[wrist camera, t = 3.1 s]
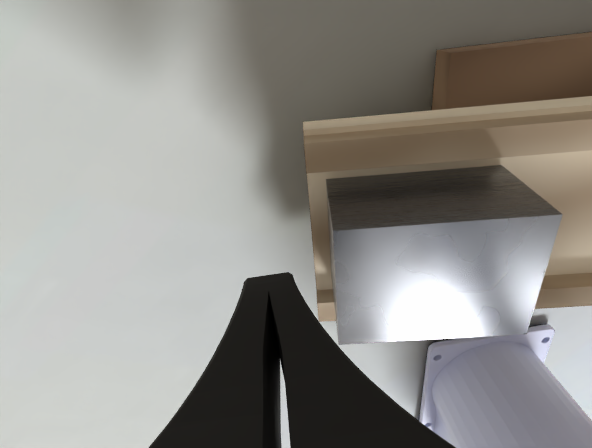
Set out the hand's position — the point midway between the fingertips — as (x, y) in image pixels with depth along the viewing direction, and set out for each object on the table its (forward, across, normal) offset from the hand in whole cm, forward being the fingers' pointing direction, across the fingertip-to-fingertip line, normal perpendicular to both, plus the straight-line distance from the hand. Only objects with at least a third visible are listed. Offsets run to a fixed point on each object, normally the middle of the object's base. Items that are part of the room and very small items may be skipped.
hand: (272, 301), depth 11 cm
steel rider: (+3, -5, 0) cm, 6 cm away
